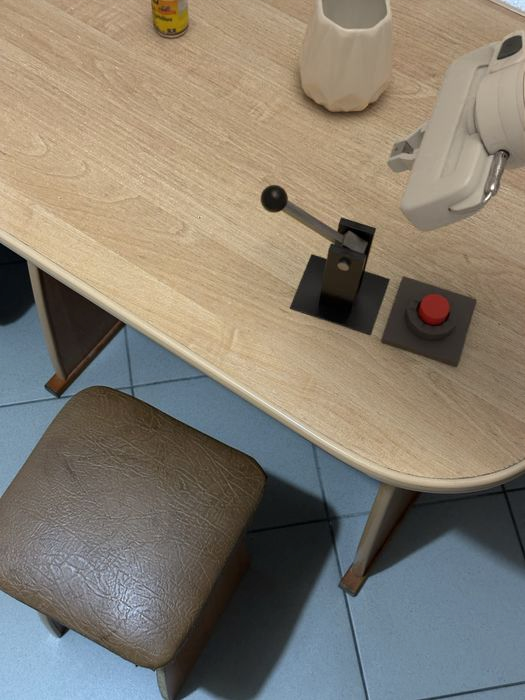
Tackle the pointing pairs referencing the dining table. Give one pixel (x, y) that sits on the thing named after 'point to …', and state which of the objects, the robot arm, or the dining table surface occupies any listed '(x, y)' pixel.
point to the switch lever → (308, 219)
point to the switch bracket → (342, 284)
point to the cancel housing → (422, 337)
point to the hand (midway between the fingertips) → (394, 157)
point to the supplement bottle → (170, 17)
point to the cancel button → (433, 309)
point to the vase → (347, 53)
